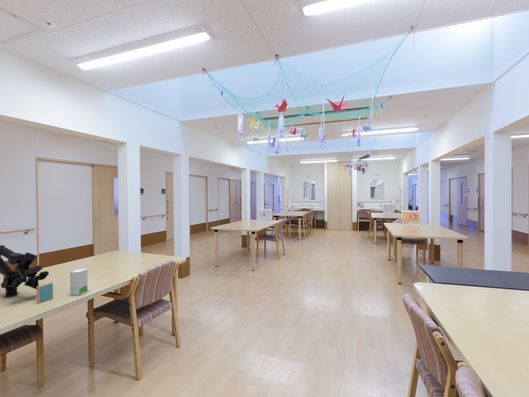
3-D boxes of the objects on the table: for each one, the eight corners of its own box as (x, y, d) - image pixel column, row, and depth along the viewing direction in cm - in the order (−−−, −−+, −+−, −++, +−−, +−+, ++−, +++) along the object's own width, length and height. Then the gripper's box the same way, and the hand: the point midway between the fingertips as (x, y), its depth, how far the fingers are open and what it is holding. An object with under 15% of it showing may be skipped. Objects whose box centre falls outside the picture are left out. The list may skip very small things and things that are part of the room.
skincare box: (78, 295, 178) (78, 272, 178) (69, 295, 179) (69, 271, 178) (88, 291, 186) (87, 268, 186) (79, 290, 187) (79, 268, 187)
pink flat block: (36, 302, 167) (36, 286, 166) (50, 297, 174) (50, 282, 174) (39, 303, 166) (39, 287, 166) (53, 298, 174) (53, 282, 173)
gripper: (14, 266, 164) (27, 285, 161) (46, 258, 182) (59, 276, 179) (5, 277, 166) (18, 297, 163) (38, 269, 184) (50, 287, 181)
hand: (38, 288), depth 171 cm, fingers closed
